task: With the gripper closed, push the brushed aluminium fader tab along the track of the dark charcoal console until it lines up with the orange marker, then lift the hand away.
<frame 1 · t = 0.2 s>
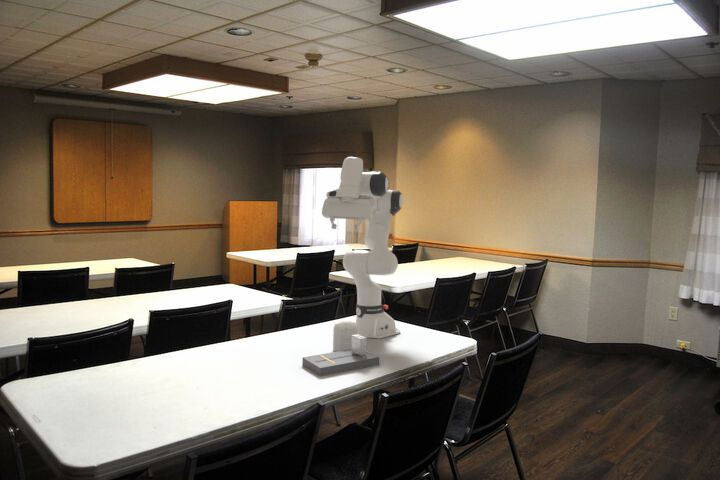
hand: (345, 229, 212), 51 cm above the table, tool tilted 20°, fingers open, 8 cm apart
fader: (359, 344, 211), point 7 cm above the table, slide at -8.0 cm
console: (341, 364, 207), on the table
photo printer: (345, 351, 226), on the table
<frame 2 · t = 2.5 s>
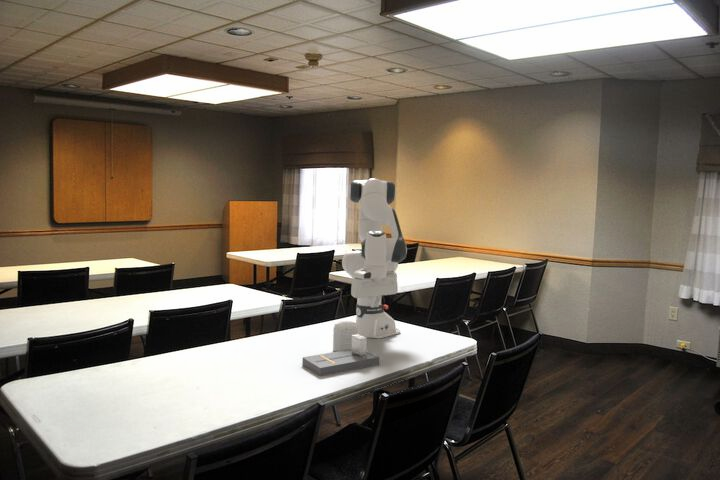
hand: (374, 307, 213), 21 cm above the table, tool pointing down, fingers closed
nothing on the table moved.
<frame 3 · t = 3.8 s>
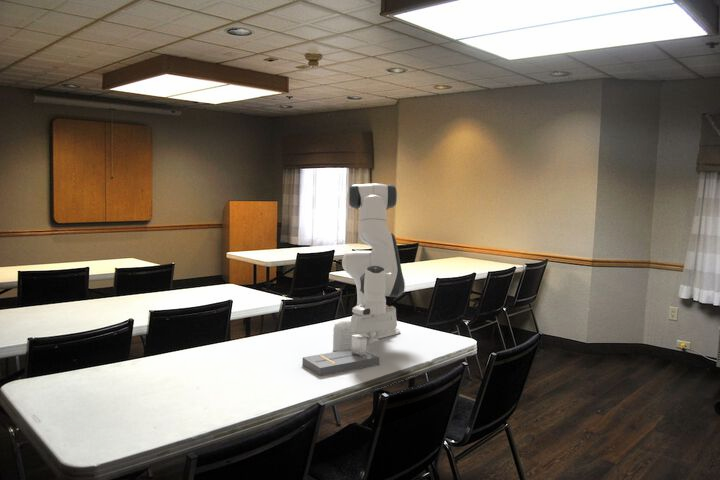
hand: (373, 342, 214), 7 cm above the table, tool pointing down, fingers closed
nothing on the table moved.
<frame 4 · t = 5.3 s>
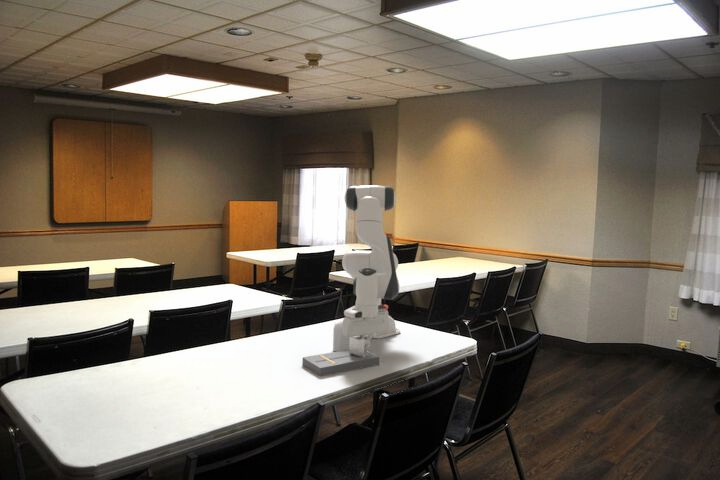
hand: (365, 345, 213), 6 cm above the table, tool pointing down, fingers closed
fader: (356, 345, 210), point 7 cm above the table, slide at -7.0 cm, touching gripper
everything else where it was.
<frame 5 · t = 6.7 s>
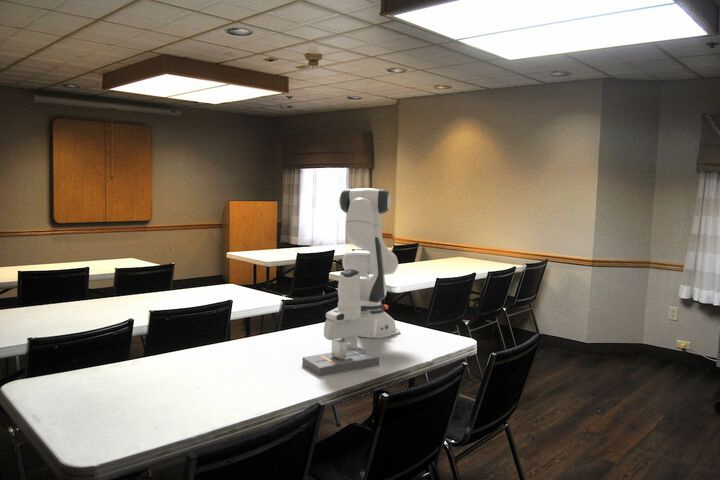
hand: (348, 347, 208), 6 cm above the table, tool pointing down, fingers closed
fader: (338, 348, 206), point 7 cm above the table, slide at 1.1 cm, touching gripper
everything else where it was.
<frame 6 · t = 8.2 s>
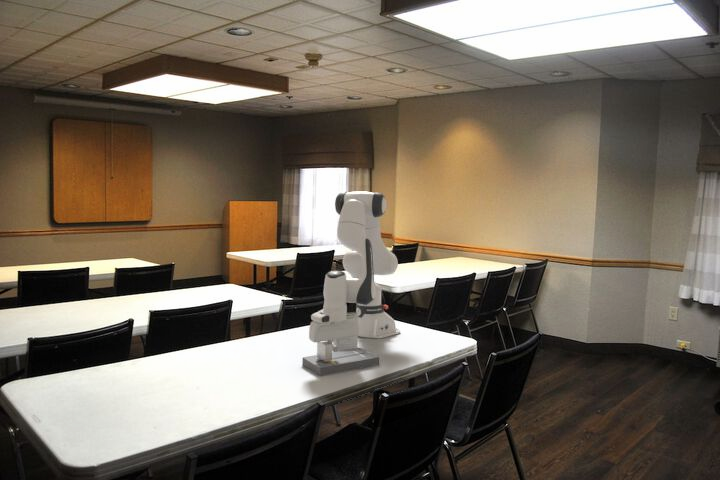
hand: (334, 350, 205), 6 cm above the table, tool pointing down, fingers closed
fader: (324, 350, 203), point 7 cm above the table, slide at 7.4 cm, touching gripper
everything else where it was.
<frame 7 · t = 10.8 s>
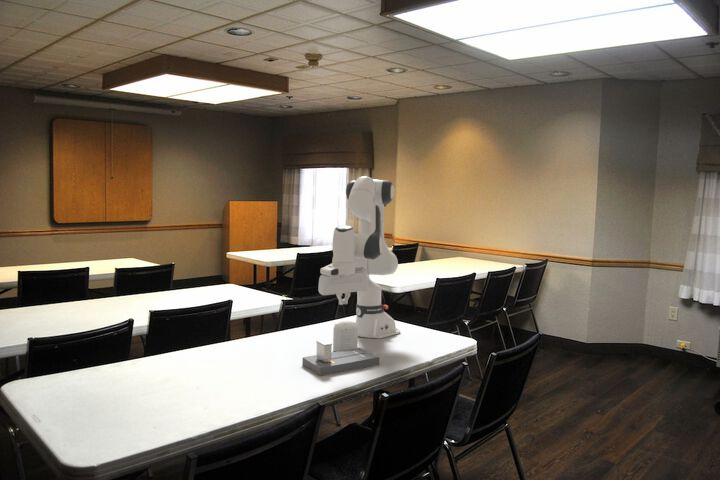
hand: (343, 304, 207), 23 cm above the table, tool pointing down, fingers closed
fader: (323, 350, 202), point 7 cm above the table, slide at 7.6 cm
everything else where it was.
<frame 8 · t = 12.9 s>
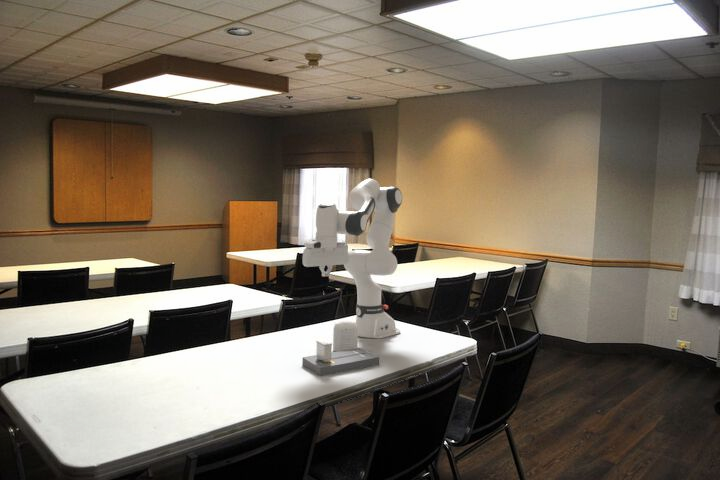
hand: (325, 276, 223), 31 cm above the table, tool pointing down, fingers closed
nothing on the table moved.
at the end: fader slide at 7.6 cm; photo printer moved 0.3 cm from its start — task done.
